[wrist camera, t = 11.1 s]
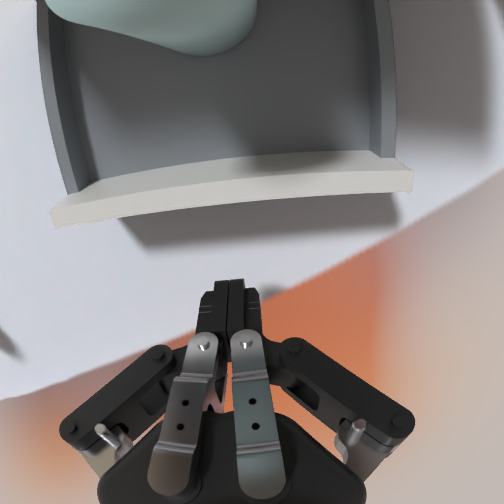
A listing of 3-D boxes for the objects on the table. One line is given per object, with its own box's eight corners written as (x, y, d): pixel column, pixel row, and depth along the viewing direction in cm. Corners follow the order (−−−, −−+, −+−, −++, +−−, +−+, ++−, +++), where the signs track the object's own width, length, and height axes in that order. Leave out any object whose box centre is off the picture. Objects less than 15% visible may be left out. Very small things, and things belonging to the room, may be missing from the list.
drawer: (347, -88, 6) (373, -120, 2) (374, 162, 15) (411, 191, 12) (62, -43, 7) (21, -58, 3) (92, 193, 16) (55, 228, 12)
